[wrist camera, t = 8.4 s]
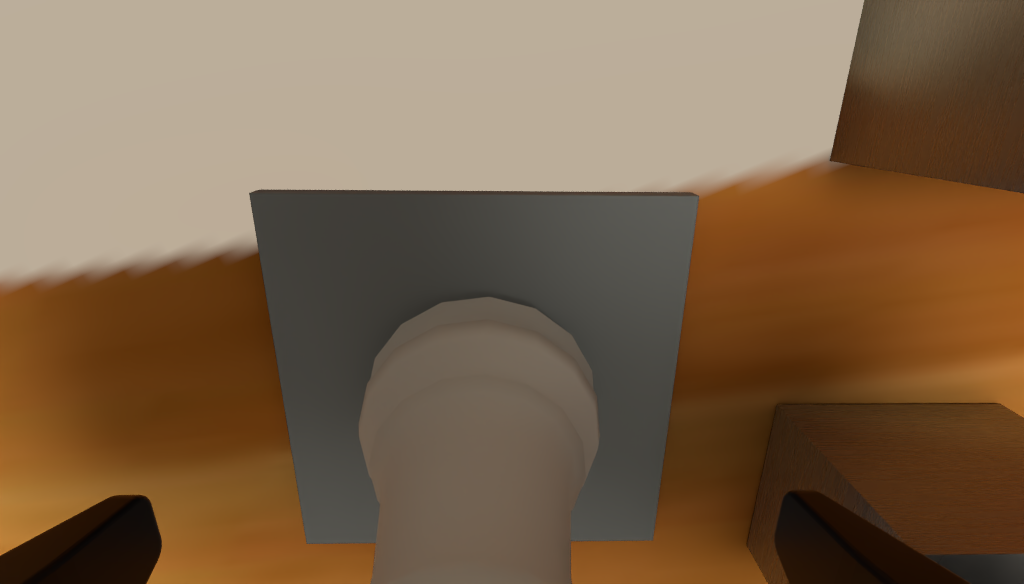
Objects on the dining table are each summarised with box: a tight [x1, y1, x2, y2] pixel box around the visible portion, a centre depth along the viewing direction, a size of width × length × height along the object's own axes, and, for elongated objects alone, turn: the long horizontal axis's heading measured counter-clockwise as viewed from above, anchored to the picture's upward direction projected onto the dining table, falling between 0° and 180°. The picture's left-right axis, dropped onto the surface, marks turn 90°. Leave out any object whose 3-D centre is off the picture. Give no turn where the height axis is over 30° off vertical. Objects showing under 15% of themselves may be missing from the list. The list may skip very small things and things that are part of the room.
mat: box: [249, 190, 699, 544], centre depth 11 cm, size 8×8×1 cm
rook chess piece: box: [359, 297, 600, 584], centre depth 7 cm, size 4×4×8 cm
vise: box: [747, 0, 1024, 584], centre depth 9 cm, size 15×5×4 cm, turn 179°
